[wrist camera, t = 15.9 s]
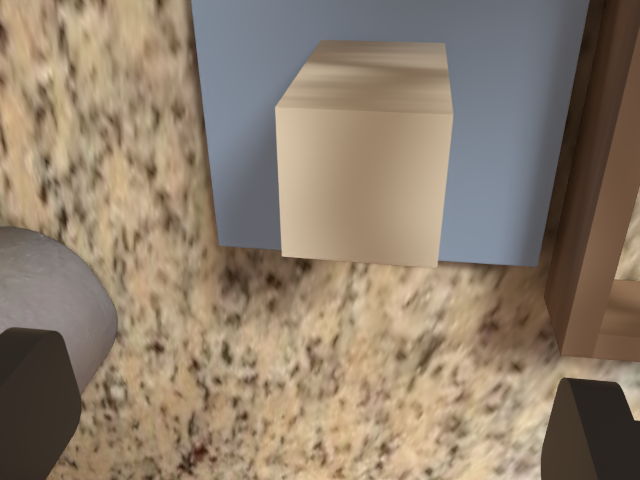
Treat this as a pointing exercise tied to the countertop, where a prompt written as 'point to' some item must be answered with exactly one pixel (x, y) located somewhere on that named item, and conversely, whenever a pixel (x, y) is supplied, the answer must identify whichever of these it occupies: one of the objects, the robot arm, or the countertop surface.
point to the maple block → (365, 153)
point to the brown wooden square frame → (601, 203)
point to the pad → (466, 92)
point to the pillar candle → (55, 298)
